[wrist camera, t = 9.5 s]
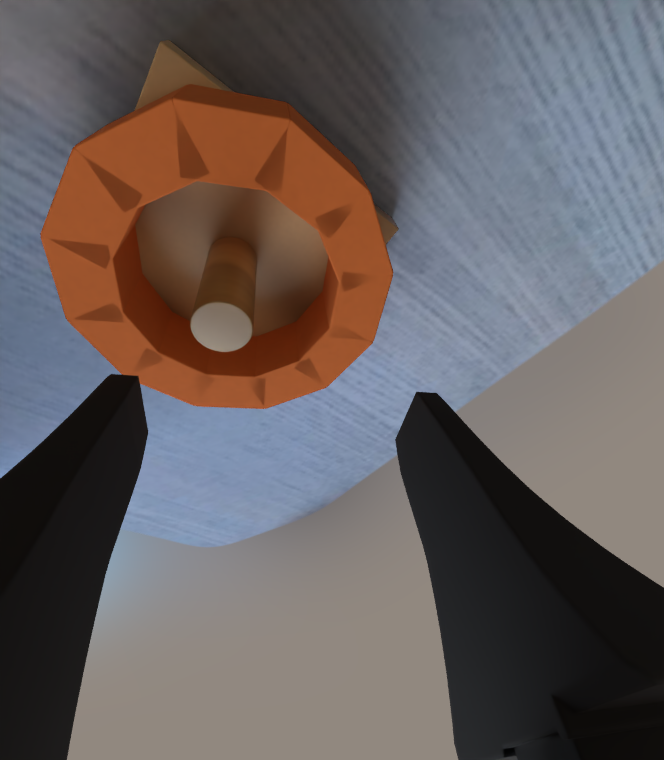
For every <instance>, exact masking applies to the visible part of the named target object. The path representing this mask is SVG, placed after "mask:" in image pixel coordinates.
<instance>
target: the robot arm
mask: <svg viewBox="0 0 664 760" xmlns="http://www.w3.org/2000/svg"><path fill="white" fill-rule="evenodd" d="M147 435H148V428H147V423H146V417H145V411H144V405H143V399H142V394H141V388H140V382H139V376H134V375H116V374H111V375H109V376H108V377H107V378H106V379H105V380H104V381H103V382H102V383H101V384H100V385H99V386H98V387H97V388H96V389H95V390H94V391H93V392H92V393H91V394H90V395H89V396H88V397H87V399H86V400H85V401H84V402H83V403H82V404H81V405H80V406H79V407H78V408H77V409H76V410H75V411H74V412H73V413H72V414H71V415H70V416H69V417H68V418H67V419H66V420H65V421H64V422H63V423H61V424H60V425H59V426H58V427H57V428H56V429H55V430H54V431H53V432H52V433H51V434H50V435H49V436H48V437H47V438H46V439H45V440H44V441H43V442H42V443H40V444H39V445H38V446H37V447H36V448H35V449H34V450H33V451H32V452H30V453H29V454H28V455H27V456H26V457H25V458H24V459H22V460H21V461H20V462H19V463H18V464H17V465H16V466H14V467H13V468H12V469H11V470H10V471H9V472H8V473H6V474H5V475H4V476H3V477H2V478H0V760H67V755H68V750H69V744H70V738H71V733H72V727H73V722H74V717H75V711H76V707H77V702H78V697H79V692H80V687H81V682H82V677H83V672H84V667H85V662H86V657H87V653H88V648H89V644H90V639H91V635H92V630H93V626H94V621H95V617H96V612H97V608H98V603H99V599H100V595H101V591H102V587H103V583H104V578H105V574H106V571H107V568H108V564H109V561H110V557H111V554H112V551H113V548H114V545H115V543H116V540H117V536H118V534H119V531H120V528H121V525H122V522H123V519H124V516H125V514H126V511H127V508H128V505H129V502H130V499H131V496H132V493H133V490H134V487H135V484H136V481H137V478H138V475H139V472H140V469H141V465H142V460H143V455H144V450H145V445H146V440H147ZM395 440H396V447H397V454H398V460H399V465H400V471H401V475H402V479H403V482H404V485H405V488H406V492H407V495H408V499H409V502H410V505H411V508H412V512H413V515H414V518H415V521H416V525H417V528H418V531H419V534H420V538H421V541H422V544H423V548H424V552H425V555H426V559H427V563H428V568H429V573H430V578H431V582H432V588H433V593H434V598H435V604H436V609H437V615H438V621H439V626H440V632H441V638H442V645H443V651H444V659H445V666H446V671H447V672H446V673H447V679H448V688H449V697H450V706H451V714H452V723H453V734H454V744H455V747H456V752H457V756H458V759H459V760H664V588H663V587H662V586H660V585H659V584H657V583H655V582H654V581H652V580H651V579H649V578H648V577H646V576H645V575H643V574H642V573H640V572H639V571H637V570H636V569H634V568H633V567H631V566H630V565H628V564H627V563H625V562H624V561H622V560H621V559H619V558H618V557H616V556H615V555H614V554H612V553H611V552H609V551H608V550H606V549H605V548H603V547H602V546H600V545H599V544H598V543H597V542H595V541H594V540H593V539H591V538H590V537H589V536H587V535H586V534H584V533H583V532H582V531H581V530H579V529H578V528H577V527H575V526H574V525H573V524H571V523H570V522H569V521H568V520H566V519H565V518H564V517H563V516H561V515H560V514H559V513H558V512H557V511H555V510H554V509H553V508H552V507H551V506H549V505H548V504H547V503H546V502H544V501H543V500H542V499H541V498H540V497H539V496H538V495H536V494H535V493H534V492H533V491H532V490H531V489H529V487H527V486H526V485H525V484H524V483H523V482H522V481H521V480H520V479H519V478H518V477H517V476H516V475H515V474H513V472H512V471H511V470H510V469H508V468H507V467H506V466H505V465H504V464H503V463H502V462H501V461H500V460H499V459H498V458H497V457H496V456H495V455H494V454H493V453H492V452H491V451H490V449H489V448H487V446H486V445H484V443H483V442H482V441H481V440H480V439H479V438H478V437H477V436H476V435H475V434H474V433H473V432H472V430H471V429H470V428H469V427H468V426H467V425H466V424H465V423H464V422H463V421H462V419H461V418H460V417H459V416H458V415H457V414H456V413H455V412H454V411H453V410H452V409H451V407H450V406H449V405H448V404H447V403H446V402H445V401H444V400H443V399H442V398H441V397H440V396H439V395H438V394H437V393H426V392H416V394H415V396H414V399H413V401H412V403H411V405H410V408H409V410H408V412H407V414H406V417H405V419H404V421H403V424H402V426H401V428H400V430H399V433H398V435H397V437H396V439H395Z"/></svg>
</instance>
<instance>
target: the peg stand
mask: <svg viewBox="0 0 664 760" xmlns="http://www.w3.org/2000/svg"><path fill="white" fill-rule="evenodd" d="M189 84H193V85H199V86H204V87H209V88H215V89H220V90H225V91H230V92H233V91H232V90H231V89H230V88H228V87H227V86H226V85H225V84H223V83H222V82H221V81H220V80H218V79H217V78H216V77H215V76H213V75H212V74H211V73H210V72H208V71H207V70H206V69H205V68H203V67H202V66H201V65H200V64H198V63H197V62H196V61H195V60H193V59H192V58H191V57H190V56H188V55H187V54H186V53H185V52H183V51H182V50H181V49H180V48H178V47H177V46H176V45H175V44H173V43H172V42H171V41H170V40H164V41H161V42H160V43H159V46H158V48H157V51H156V54H155V56H154V59H153V62H152V65H151V67H150V70H149V73H148V75H147V78H146V81H145V84H144V86H143V89H142V92H141V94H140V97H139V100H138V103H137V105H136V108H135V110H137V109H139V108H141V107H143V106H145V105H147V104H149V103H151V102H153V101H155V100H157V99H159V98H161V97H163V96H165V95H167V94H169V93H171V92H173V91H175V90H177V89H179V88H181V87H183V86H185V85H189ZM374 206H375V209H376V213H377V216H378V220H379V223H380V227H381V231H382V234H383V238H384V241H385V245H386V244H387V243H388V241H389V240H390V239H391V238H392V237H393V235H394V234H395V233H396V232H397V231H398V227H397V225H396V224H395V222H394V220H393V219H392V218H391V217H390V216H389V215H388V214H386V213H385V212H384V211H383V210H381V209H380V208H379V207H377V206H376V205H375V204H374ZM135 227H136V234H137V241H138V247H139V254H140V260H141V267H142V274H143V275H144V276H145V277H146V279H147V280H148V281H149V283H150V284H151V285H152V286H153V288H154V289H155V290H156V292H157V293H158V294H159V295H160V297H161V298H162V299H163V301H164V302H165V303H166V304H167V306H168V307H169V308H170V310H171V311H172V312H173V313H175V314H177V315H179V316H181V317H183V318H185V319H187V320H189V321H190V328H191V331H192V333H193V335H194V337H195V338H196V340H197V341H198V342H199V343H201V344H202V345H203V346H205V347H207V348H209V349H211V350H214V351H219V352H230V351H235V350H238V349H240V348H242V347H243V346H245V345H246V344H247V343H248V342H249V341H250V339H251V337H252V336H259V335H262V334H265V333H267V332H270V331H272V330H275V329H278V328H280V327H283V326H286V325H288V324H291V323H294V322H296V321H297V320H298V319H299V318H300V316H301V315H302V314H303V313H304V312H305V311H306V310H307V308H308V307H309V306H310V305H311V304H312V303H313V301H314V300H315V299H316V298H317V297H318V296H319V295H320V293H321V292H322V291H323V285H324V279H325V274H326V268H327V262H328V255H327V252H326V250H325V247H324V245H323V242H322V240H321V237H320V235H319V232H318V230H316V229H315V228H314V227H312V226H311V225H310V224H308V223H307V222H306V221H305V220H303V219H302V218H301V217H299V216H298V215H297V214H295V213H294V212H293V211H292V210H290V209H289V208H288V207H286V206H285V205H284V204H283V203H281V202H280V201H279V200H277V199H276V198H275V197H273V196H272V195H271V194H270V193H268V192H267V191H263V190H256V189H249V188H242V187H235V186H228V185H221V184H214V183H207V182H200V181H196V182H194V183H192V184H190V185H187V186H185V187H183V188H181V189H179V190H177V191H174V192H172V193H170V194H168V195H166V196H163V197H161V198H159V199H157V200H155V201H152V202H150V203H148V204H146V205H145V207H144V209H143V211H142V213H141V215H140V217H139V218H138V220H137V222H136V224H135Z"/></svg>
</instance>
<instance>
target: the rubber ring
mask: <svg viewBox="0 0 664 760" xmlns="http://www.w3.org/2000/svg"><path fill="white" fill-rule="evenodd" d="M196 181H200V182H207V183H214V184H221V185H228V186H235V187H242V188H249V189H256V190H263V191H267V192H268V193H270V194H271V195H272V196H273V197H275V198H276V199H277V200H279V201H280V202H281V203H283V204H284V205H285V206H286V207H288V208H289V209H290V210H292V211H293V212H294V213H295V214H297V215H298V216H299V217H301V218H302V219H303V220H305V221H306V222H307V223H308V224H310V225H311V226H312V227H314V228H315V229H316V230H318V232H319V235H320V237H321V240H322V242H323V245H324V247H325V250H326V252H327V255H328V262H327V268H326V274H325V279H324V285H323V291H322V292H321V293H320V295H319V296H318V297H317V298H316V299H315V300H314V301H313V303H312V304H311V305H310V306H309V307H308V308H307V310H306V311H305V312H304V313H303V314H302V315H301V316H300V318H299V319H298V320H297V321H296V322H294V323H291V324H288V325H286V326H283V327H280V328H278V329H275V330H272V331H270V332H267V333H265V334H262V335H259V336H252V337H251V339H250V341H249V342H248V343H247V344H246V345H245V346H243V347H242V348H240V349H238V350H235V351H230V352H219V351H214V350H211V349H209V348H207V347H205V346H203V345H202V344H201V343H199V342H198V341H197V340H196V338H195V337H194V335H193V333H192V331H191V328H190V321H189V320H187V319H185V318H183V317H181V316H179V315H177V314H175V313H173V312H172V311H171V310H170V308H169V307H168V306H167V304H166V303H165V302H164V301H163V299H162V298H161V297H160V295H159V294H158V293H157V292H156V290H155V289H154V288H153V286H152V285H151V284H150V283H149V281H148V280H147V279H146V277H145V276H144V275H143V274H142V267H141V260H140V254H139V247H138V241H137V234H136V227H135V224H136V222H137V220H138V218H139V217H140V215H141V213H142V211H143V209H144V207H145V205H146V204H148V203H150V202H152V201H155V200H157V199H159V198H161V197H163V196H166V195H168V194H170V193H172V192H174V191H177V190H179V189H181V188H183V187H185V186H187V185H190V184H192V183H194V182H196ZM40 235H41V240H42V243H43V246H44V250H45V253H46V256H47V259H48V262H49V266H50V269H51V272H52V275H53V278H54V282H55V285H56V288H57V291H58V294H59V298H60V301H61V304H62V307H63V310H64V314H65V317H66V319H67V321H68V322H69V323H70V324H71V325H72V326H73V327H74V328H75V329H76V330H77V331H78V332H79V333H80V334H81V335H83V336H84V337H85V338H86V339H87V340H88V341H89V342H90V343H91V344H92V345H93V346H94V347H95V348H96V349H97V350H98V351H99V352H100V353H101V354H102V355H103V356H104V357H105V358H106V359H107V360H108V361H109V362H110V363H111V364H112V365H113V366H114V367H115V368H116V369H117V370H118V371H119V372H120V373H121V374H122V375H134V376H139V382H140V384H143V385H145V386H147V387H150V388H152V389H155V390H157V391H160V392H162V393H164V394H167V395H169V396H172V397H174V398H177V399H179V400H181V401H184V402H186V403H189V404H191V405H194V406H195V405H196V406H202V407H229V408H256V409H264V408H265V409H266V408H269V407H272V406H275V405H278V404H281V403H284V402H286V401H289V400H292V399H295V398H298V397H301V396H304V395H307V394H309V393H312V392H315V391H318V390H321V389H324V388H326V387H327V386H329V385H330V384H331V383H332V382H333V381H334V380H335V379H336V378H337V377H338V376H339V375H340V374H341V373H342V372H343V371H344V370H345V369H346V368H347V367H348V366H349V365H350V364H351V363H352V362H353V361H355V360H356V359H357V358H358V357H359V356H360V355H361V354H362V353H363V352H364V351H365V350H366V349H367V348H368V347H369V346H370V345H371V344H372V343H373V341H374V338H375V335H376V332H377V328H378V325H379V321H380V318H381V315H382V311H383V308H384V304H385V301H386V298H387V294H388V291H389V287H390V284H391V281H392V277H393V269H392V266H391V262H390V259H389V255H388V252H387V248H386V245H385V241H384V238H383V234H382V231H381V227H380V223H379V220H378V216H377V213H376V209H375V206H374V202H373V199H372V195H371V193H370V191H369V189H368V187H367V185H366V184H365V182H364V180H363V178H362V177H361V175H360V173H359V171H358V170H357V168H356V166H355V165H354V164H353V163H352V162H351V161H350V160H349V159H348V158H347V157H346V156H345V155H343V154H342V153H341V152H340V151H339V150H338V149H337V148H336V147H335V146H334V145H333V144H332V143H331V142H329V141H328V140H327V139H326V138H325V137H324V136H323V135H322V134H321V133H320V132H319V131H318V130H317V129H316V128H314V127H313V126H312V125H311V124H310V123H309V122H308V121H307V120H306V119H305V118H304V117H303V116H302V115H300V114H299V113H298V112H297V111H296V110H295V109H294V108H293V107H292V106H291V105H290V104H289V103H286V102H283V101H278V100H273V99H267V98H262V97H257V96H252V95H246V94H241V93H236V92H230V91H225V90H220V89H215V88H209V87H204V86H199V85H193V84H189V85H185V86H183V87H181V88H179V89H177V90H175V91H173V92H171V93H169V94H167V95H165V96H163V97H161V98H159V99H157V100H155V101H153V102H151V103H149V104H147V105H145V106H143V107H141V108H139V109H137V110H135V111H133V112H131V113H129V114H127V115H125V116H123V117H121V118H119V119H117V120H115V121H113V122H111V123H109V124H107V125H106V126H104V127H103V128H101V129H100V130H98V131H97V132H95V133H94V134H92V135H90V136H89V137H87V138H86V139H84V140H83V141H81V142H80V143H78V144H77V145H75V147H73V149H72V151H71V154H70V157H69V159H68V162H67V165H66V167H65V170H64V173H63V175H62V178H61V181H60V183H59V186H58V188H57V191H56V194H55V196H54V199H53V202H52V204H51V207H50V210H49V212H48V215H47V218H46V220H45V223H44V226H43V228H42V231H41V233H40Z"/></svg>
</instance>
